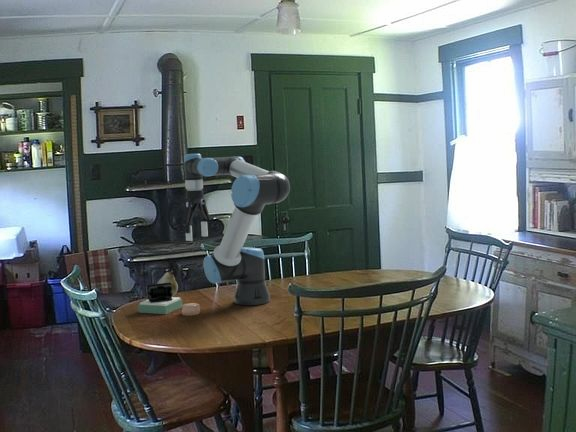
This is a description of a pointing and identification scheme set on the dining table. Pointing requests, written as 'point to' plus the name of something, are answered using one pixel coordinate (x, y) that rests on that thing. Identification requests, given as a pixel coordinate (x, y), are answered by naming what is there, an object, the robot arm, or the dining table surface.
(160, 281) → the fruit
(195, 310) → the pinkish tan egg
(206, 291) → the dining table surface
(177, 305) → the stand
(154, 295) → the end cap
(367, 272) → the dining table surface
